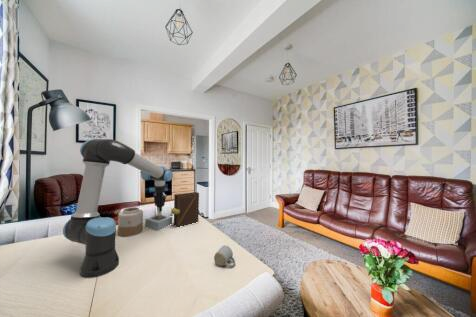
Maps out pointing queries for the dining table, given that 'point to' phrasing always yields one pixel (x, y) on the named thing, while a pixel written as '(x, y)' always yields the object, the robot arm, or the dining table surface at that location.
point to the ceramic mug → (224, 256)
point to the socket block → (158, 222)
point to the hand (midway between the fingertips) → (159, 214)
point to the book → (186, 208)
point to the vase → (130, 222)
